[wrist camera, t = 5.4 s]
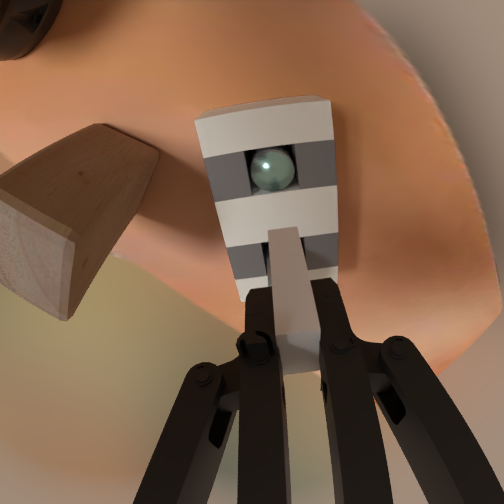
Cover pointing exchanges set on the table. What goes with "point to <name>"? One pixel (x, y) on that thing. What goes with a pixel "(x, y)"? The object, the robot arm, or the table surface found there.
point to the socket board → (279, 202)
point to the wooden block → (69, 214)
